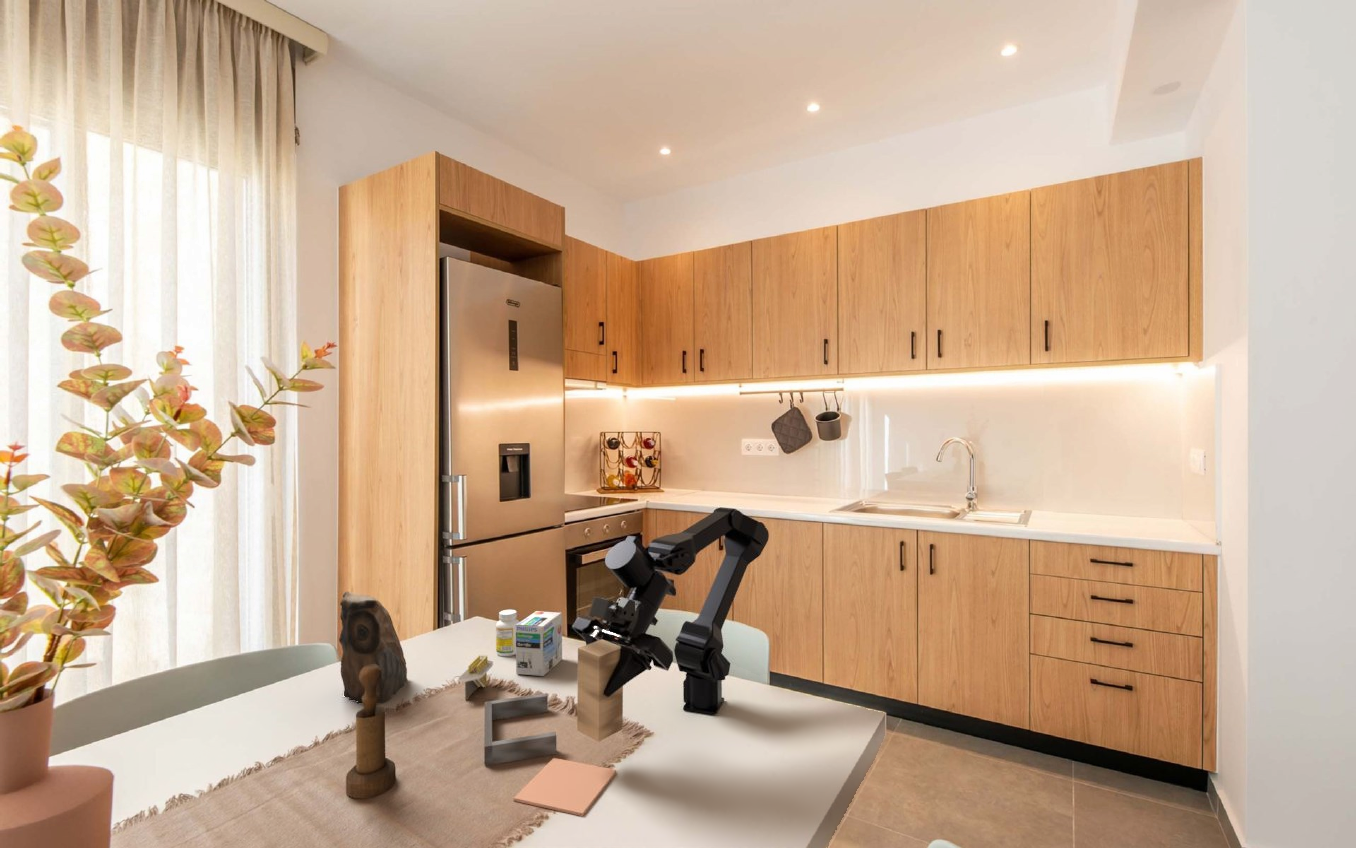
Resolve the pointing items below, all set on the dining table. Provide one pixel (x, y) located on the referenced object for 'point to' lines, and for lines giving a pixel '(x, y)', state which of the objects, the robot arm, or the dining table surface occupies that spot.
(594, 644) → the block
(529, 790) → the mat
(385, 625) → the owl
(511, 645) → the supplement bottle
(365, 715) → the mortar and pestle
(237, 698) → the dining table surface
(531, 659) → the light bulb box
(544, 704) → the nook
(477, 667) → the platform
